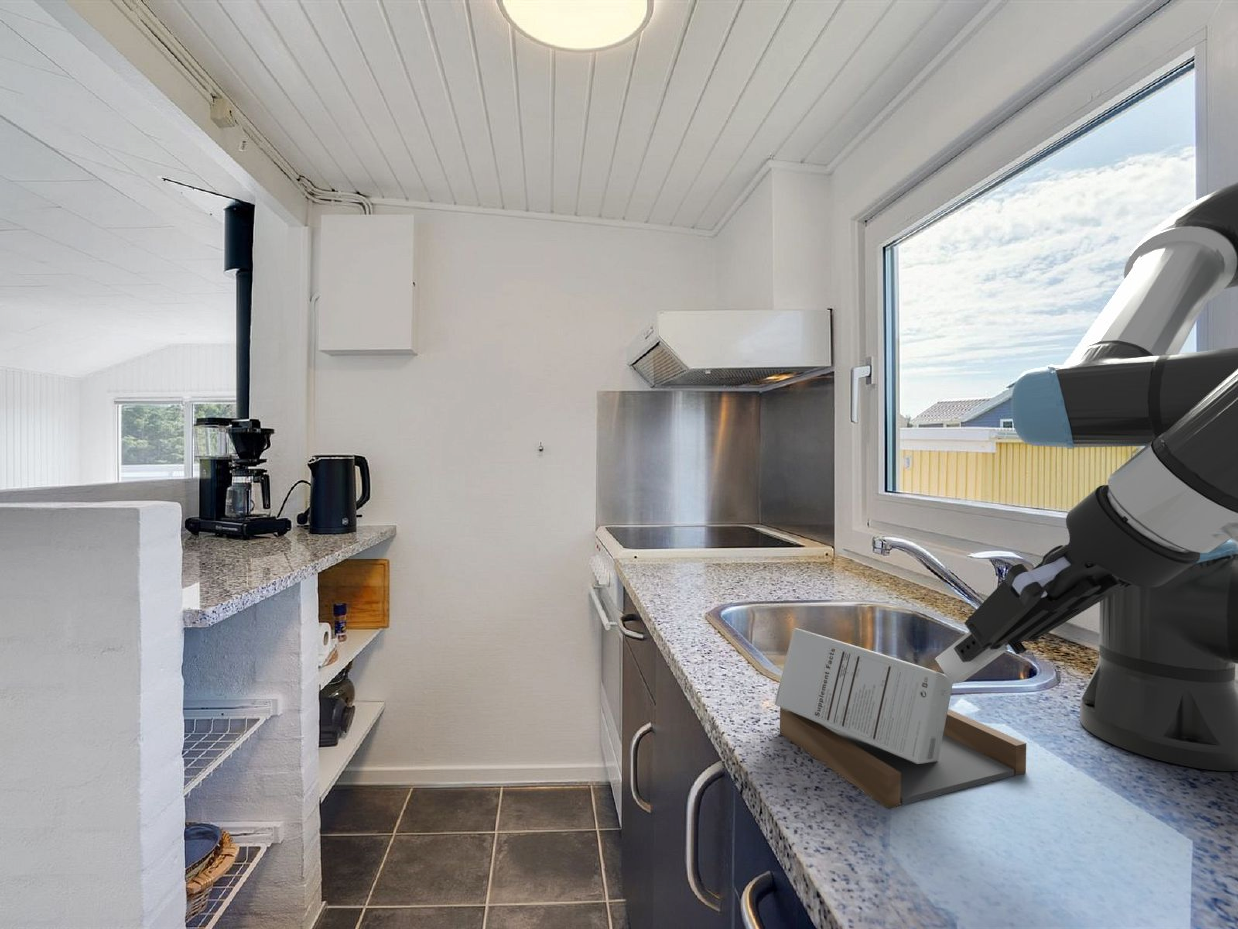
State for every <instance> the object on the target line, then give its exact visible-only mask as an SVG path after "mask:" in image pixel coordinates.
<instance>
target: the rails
mask: <svg viewBox="0 0 1238 929" xmlns="http://www.w3.org/2000/svg"><path fill="white" fill-rule="evenodd" d="M779 734H780V735H782V736H783V737H784V738H786V739H788V740H789V741H790V742H792V743H793V744H794V745H795V746H797V747H799V748H800V749H802V750H803V751H805V752H806V753H808V754H809V755H810V756H811V757H813V758H815V759H816V760H818V762H820V763H821V764H823V765H824V766H826V767H828V768H829V769H830V770H832V771H833V772H834V773H836V774H837V775H839V776H840V777H842V778H843V779H845V780H846V781H848V782H849V783H850V784H852V785H853V786H855V787H856V788H857V789H859V790H860V791H862V792H863V793H864V794H866V795H867V796H869V797H870V798H872V799H873V800H875V801H876V802H877V803H879V804H880V805H882V806H884V808H886V809H892V808H895V807H899V806H901V804H900V790H901V773H900V772H899V771H897V770H895V769H894V768H892V767H890V766H889V765H887V764H885V763H884V762H882V761H881V760H879V759H877V758H876V757H874V756H872V755H871V754H869V753H867V752H866V751H864V750H862V749H861V748H859V747H858V746H856V745H854V744H853V743H851V742H849V741H848V740H846V739H844V738H843V737H841V736H840V735H838V734H836V733H835V732H833V731H831V730H830V729H828V728H826V727H825V726H823V725H822V724H820V723H817V722H815V721H813V720H810V719H808V718H805V717H803V716H801V715H798V714H796V713H793V712H791V711H788V710H786V709H784V708H781V707H779ZM943 735H945V736H947V737H949V738H951V739H953V740H955V741H957V742H959V743H961V744H963V745H965V746H967V747H969V748H971V749H973V750H975V751H978V752H980V753H982V754H984V755H986V756H988V757H990V758H992V759H994V760H996V761H998V762H1000V763H1002V764H1004V765H1006V766H1008V767H1010V768H1012V769H1014V776H1017V775H1018V776H1019V775H1021V774H1026V773H1027V742H1025V741H1022V740H1020V739H1017V738H1015V737H1013V736H1011V735H1009V734H1007V733H1004V732H1002V731H1000V730H997V729H995V728H992V727H990V726H988V725H986V724H984V723H982V722H980V721H977V720H975V719H973V718H971V717H968V716H966V715H964V714H961V713H959V712H957V711H954V710H952V709H950V708H948V712H947V716H946V722H945V727H944V731H943Z"/></svg>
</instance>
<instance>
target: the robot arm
mask: <svg viewBox="0 0 1238 929" xmlns="http://www.w3.org/2000/svg"><path fill="white" fill-rule="evenodd" d="M1123 278H1124V280H1123V282H1122V283H1121V284H1120V286H1119V287H1118V289H1117V290H1116V292H1115V294H1114V295H1113V296H1112V298H1111V299H1110V300H1109V302H1108V303H1107V305H1106V306H1105V307H1104V309H1103V310H1102V312H1101V313H1100V314H1099V316H1098V317H1097V319H1096V320H1095V322H1094V323H1093V324H1092V326H1091V327H1090V328H1089V330H1088V331H1087V333H1086V334H1085V336H1084V337H1083V338H1082V339H1081V341H1080V343H1079V344H1078V346H1077V347H1076V348H1075V350H1074V351H1073V353H1072V354H1071V355H1070V357H1069V358H1068V359H1067V360H1066V361H1065V362H1064V364H1063V365H1054V364H1048V365H1047V366H1045V367H1039V368H1033V369H1029V370H1027V371H1023V373H1021V374H1020V376H1019V377H1018V378H1017V379H1016V381H1015V383H1014V386H1013V389H1012V394H1011V398H1010V399H1011V402H1010V411H1011V418H1012V423H1013V426H1014V430H1015V432H1016V434H1017V436H1018V437H1019V438H1020V440H1022V441H1023V443H1025V444H1027V445H1030V446H1033V447H1049V448H1050V447H1051V448H1052V447H1055V448H1066V449H1069V450H1070V449H1071V450H1073V449H1074V448H1110V447H1111V448H1116V447H1117V448H1119V447H1120V448H1121V447H1122V448H1123V447H1125V448H1127V447H1143V448H1142V449H1140V451H1138V452H1137V453H1136V454H1135V455H1133V456H1132V457H1131V458H1129V459H1128V461H1126V462H1125V463H1124V464H1123V465H1121V466H1120V467H1119V468H1118V469H1117V470H1115V471H1114V472H1113V473H1111V474H1110V475H1109V477H1108V478H1107V484H1102V485H1099V486H1097V488H1095V489H1093V491H1091V492H1090V493H1089V494H1088V495H1087V496H1086V497H1085V498H1083V499H1082V500H1081V501H1079V503H1077V504H1076V505H1075V506H1074V507H1073V508H1072V509H1071V510H1069V511H1068V512H1067V515H1066V517H1065V523H1066V529H1067V531H1068V538H1069V541H1068V544H1065V545H1062V544H1061V545H1058V546H1055V547H1054V548H1051V549H1050V550H1049V551H1048V552H1047V553H1046V554H1044V555H1043V557H1042V560H1041V562H1040V563H1038V564H1037V565H1036V566H1034V567H1033V568H1032V569H1031V570H1029V569H1028V568H1027V567H1026V566H1025V565H1024V564H1023V563H1017V564H1015V565H1012V566H1011V567H1010V568H1009V569H1008V571H1007V573H1006V576H1005V578H1004V580H1003V581H1002V582H1001V583H1000V584H999V585H998V586H997V587H996V588H995V589H994V590H993V592H992V593H991V594H990V595H989V596H988V597H986V599H985V600H984V601H983V602H982V603H981V604H980V605H979V607H977V608H976V610H974V612H973V613H972V614H971V615H970V616H968V618H967V619H966V620H965V622H964V625H965V627H966V628H967V630H968V632H966V633H965V634H964V635H963V636H962V637H960V638H959V639H958V640H956V641H955V642H954V643H953V644H951V645H950V646H949V647H947V648H946V649H945V650H944V651H942V652H941V653H940V654H939V655H937V656H936V657H935V658H934V659H935V661H936V662H937V664H938V665H939V667H940V668H941V671H942V672H943V674H945V675H946V676H947V678H948V679H949V681H950V683H951V684H953V685H954V684H960V683H963V682H965V681H967V679H969V678H971V677H972V676H973V675H975V674H976V673H978V672H979V671H981V669H983V668H986V666H987V665H989V664H990V663H991V662H993V661H994V660H996V659H997V658H998V657H1000V656H1001V655H1003V654H1004V653H1005V652H1007V651H1008V650H1009V648H1008V647H1007V646H1008V645H1009V646H1010V648H1011V649H1012V651H1013V653H1014V654H1016V655H1021V654H1024V653H1025V652H1027V651H1028V650H1027V648H1026V647H1025V646H1024V644H1023V642H1025V641H1026V640H1028V642H1035V641H1038V640H1039V639H1040V638H1041V637H1043V636H1044V635H1046V634H1048V633H1049V632H1051V631H1053V630H1055V629H1056V628H1057V627H1060V626H1061V625H1063V624H1064V623H1066V622H1068V621H1069V620H1072V619H1073V618H1075V617H1076V616H1078V615H1080V614H1081V613H1084V612H1085V611H1087V610H1088V609H1090V608H1091V607H1093V606H1095V605H1096V604H1098V603H1099V631H1098V632H1099V634H1098V635H1099V637H1098V638H1099V639H1098V641H1099V642H1098V643H1099V644H1098V645H1099V649H1098V650H1099V651H1098V654H1099V655H1098V662H1097V665H1096V666H1095V669H1094V671H1093V673H1092V675H1091V677H1090V679H1089V682H1088V683H1087V686H1086V689H1085V691H1084V693H1083V695H1082V697H1081V699H1080V704H1079V722H1080V724H1081V725H1082V727H1084V728H1085V730H1087V731H1088V732H1090V733H1091V734H1092V735H1094V736H1096V737H1097V738H1099V739H1101V740H1103V741H1105V742H1107V743H1110V744H1112V745H1113V746H1116V747H1119V748H1121V749H1124V750H1127V751H1129V752H1131V753H1135V754H1138V755H1141V756H1143V757H1148V758H1151V759H1155V760H1158V761H1161V762H1164V763H1165V762H1166V763H1169V764H1175V765H1180V766H1183V767H1184V766H1185V767H1188V768H1194V769H1195V768H1196V769H1201V770H1208V771H1221V772H1223V771H1224V772H1238V690H1237V687H1236V664H1237V665H1238V544H1237V543H1238V347H1230V348H1220V349H1219V348H1218V349H1212V350H1203V351H1194V352H1193V351H1191V352H1184V353H1180V352H1181V350H1182V348H1183V347H1184V345H1185V343H1186V342H1187V339H1188V337H1189V335H1190V333H1191V331H1192V330H1193V328H1194V327H1195V325H1196V323H1197V321H1198V318H1199V317H1200V315H1201V313H1202V312H1203V310H1204V308H1205V306H1206V304H1207V302H1208V301H1210V300H1212V299H1213V298H1214V297H1216V296H1217V295H1219V294H1220V293H1222V292H1223V290H1226V289H1229V288H1231V289H1232V288H1235V287H1237V288H1238V182H1236V183H1232V184H1230V185H1227V186H1225V187H1223V188H1220V189H1218V190H1215V191H1214V192H1211V193H1209V194H1207V195H1205V196H1203V197H1200V198H1199V199H1198V200H1196V201H1194V202H1192V203H1191V204H1189V205H1187V206H1185V207H1184V208H1182V209H1181V210H1179V211H1177V212H1176V213H1174V214H1173V215H1171V216H1170V217H1169V218H1166V220H1164V221H1163V222H1162V223H1161V224H1159V225H1158V226H1156V227H1155V228H1154V229H1153V230H1152V231H1150V232H1149V233H1148V234H1147V235H1146V236H1145V237H1144V238H1143V239H1142V240H1141V241H1140V242H1139V243H1138V244H1137V245H1136V247H1135V248H1134V249H1133V251H1132V253H1131V254H1130V256H1129V257H1128V258H1127V261H1126V263H1125V266H1124V272H1123Z"/></svg>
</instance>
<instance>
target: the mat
mask: <svg viewBox="0 0 1238 929" xmlns="http://www.w3.org/2000/svg"><path fill="white" fill-rule="evenodd" d="M823 726H825V725H823ZM825 727H826V728H828V729H830V730H831V731H833V732H835V733H836V734H838V735H840V736H841V737H843V738H844V739H846V740H848V741H849V742H851V743H853V744H854V745H856V746H858V747H859V748H861V749H862V750H864V751H866V752H867V753H869V754H871V755H872V756H874V757H876V758H877V759H879V760H881V761H882V762H884V763H885V764H887V765H889V766H890V767H892V768H894V769H895V770H897V771H899V772H900V773H901V790H900V805H902V806H903V805H908V804H911V803H914V802H918V801H922V800H926V799H930V798H934V797H937V796H942V795H945V794H948V793H949V794H950V793H953V792H956V791H961V790H964V789H968V788H971V787H972V788H973V787H976V786H980V785H983V784H987V783H991V782H995V781H999V780H1003V779H1006V778H1010V777H1014V776H1015V774H1014V769H1012V768H1010V767H1008V766H1006V765H1004V764H1002V763H1000V762H998V761H996V760H994V759H992V758H990V757H988V756H986V755H984V754H982V753H980V752H978V751H975V750H973V749H971V748H969V747H967V746H965V745H963V744H961V743H959V742H957V741H955V740H953V739H951V738H949V737H947V736H945V735H943V737H942V742H941V747H940V753H939V759H938V761H936V762H929V763H922V764H916V763H914V762H912V761H909V760H907V759H905V758H902V757H900V756H897V755H895V754H892V753H890V752H888V751H885V750H883V749H880V748H878V747H875V746H873V745H870V744H868V743H866V742H863V741H861V740H858V739H856V738H853V737H851V736H849V735H846V734H844V733H841V732H839V731H837V730H834V729H832V728H829V727H827V726H825Z"/></svg>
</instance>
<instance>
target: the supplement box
mask: <svg viewBox="0 0 1238 929" xmlns="http://www.w3.org/2000/svg"><path fill="white" fill-rule="evenodd" d="M784 662H785V663H784V665H783V670H782V673H781V678H780V682H779V685H778V688H777V692H776V696H775V697H776V698H775V701H774V706H777V707H779V708H780V707H781V708H784V709H786V710H788V711H791V712H793V713H796V714H798V715H801V716H803V717H805V718H808V719H810V720H813V721H815V722H817V723H820V724H822V725H825V726H827V727H829V728H832V729H834V730H837V731H839V732H841V733H844V734H846V735H849V736H851V737H853V738H856V739H858V740H861V741H863V742H866V743H868V744H870V745H873V746H875V747H878V748H880V749H883V750H885V751H888V752H890V753H892V754H895V755H897V756H900V757H902V758H905V759H907V760H909V761H912V762H914V763H916V764H922V763H929V762H936V761H938V759H939V753H940V747H941V742H942V737H943V731H944V727H945V722H946V716H947V712H948V709H949V706H950V701H951V696H952V691H953V690H952V689H953V686H954V684H951V683H950V681H949V679H948V678H947V676H946V675H945V673H942V672H938V671H936V670H933V669H930V668H927V667H924V666H920V665H917V664H915V663H911V662H909V661H905V660H901V659H899V658H895V657H893V656H889V655H887V654H883V653H880V652H876V651H873V650H870V649H867V648H864V647H861V646H858V645H857V646H856V645H854V644H850V643H846V642H844V641H841V640H838V639H835V638H831V637H829V636H824V635H821V634H818V633H814V632H811V631H809V630H804V629H800V628H796V627H795V628H793V630H792V633H791V636H790V641H789V645H788V649H787V653H786V657H785V661H784Z"/></svg>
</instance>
